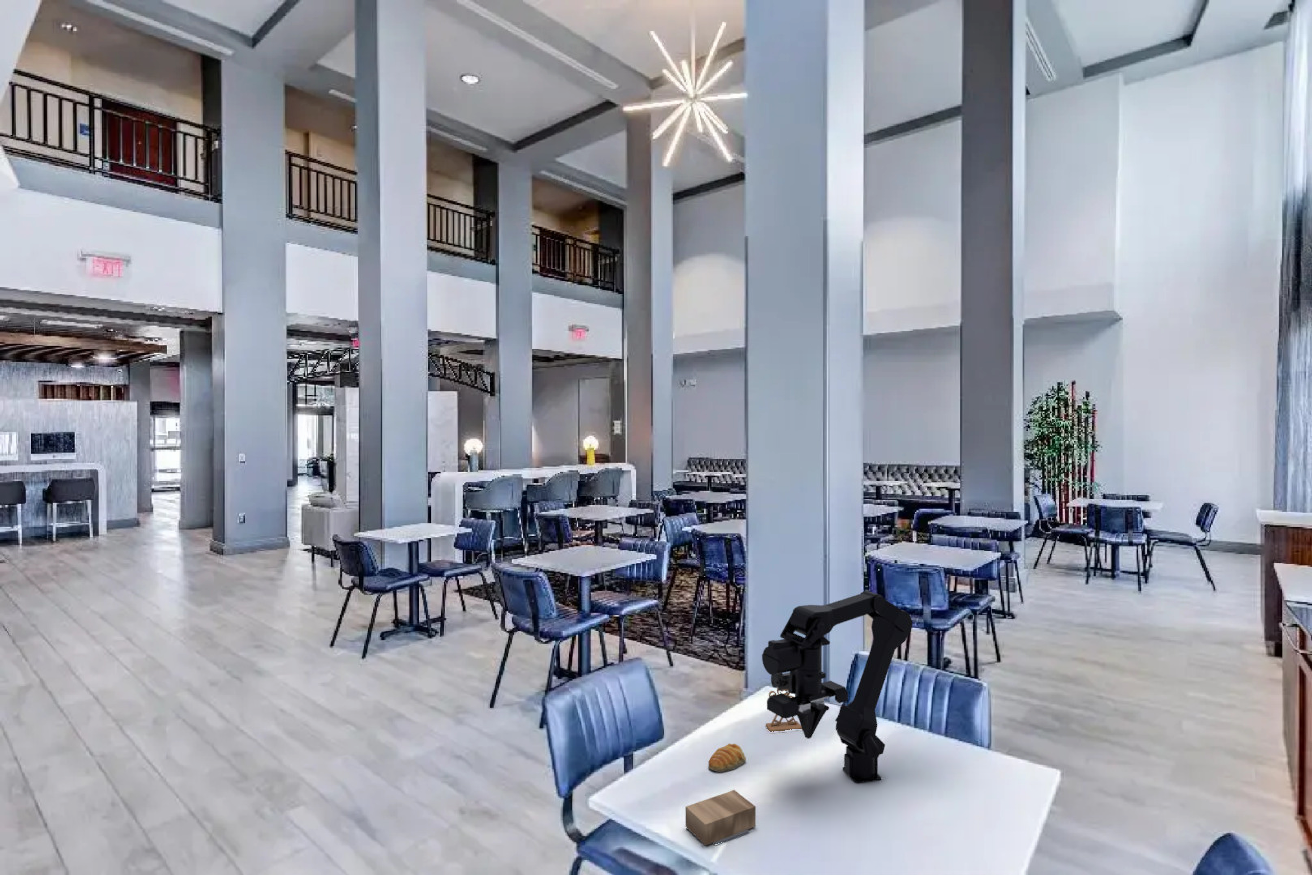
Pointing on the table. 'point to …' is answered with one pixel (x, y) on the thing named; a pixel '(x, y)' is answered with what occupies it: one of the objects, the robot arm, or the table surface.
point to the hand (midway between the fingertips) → (807, 737)
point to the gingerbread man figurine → (782, 725)
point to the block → (720, 817)
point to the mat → (732, 837)
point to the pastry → (727, 758)
